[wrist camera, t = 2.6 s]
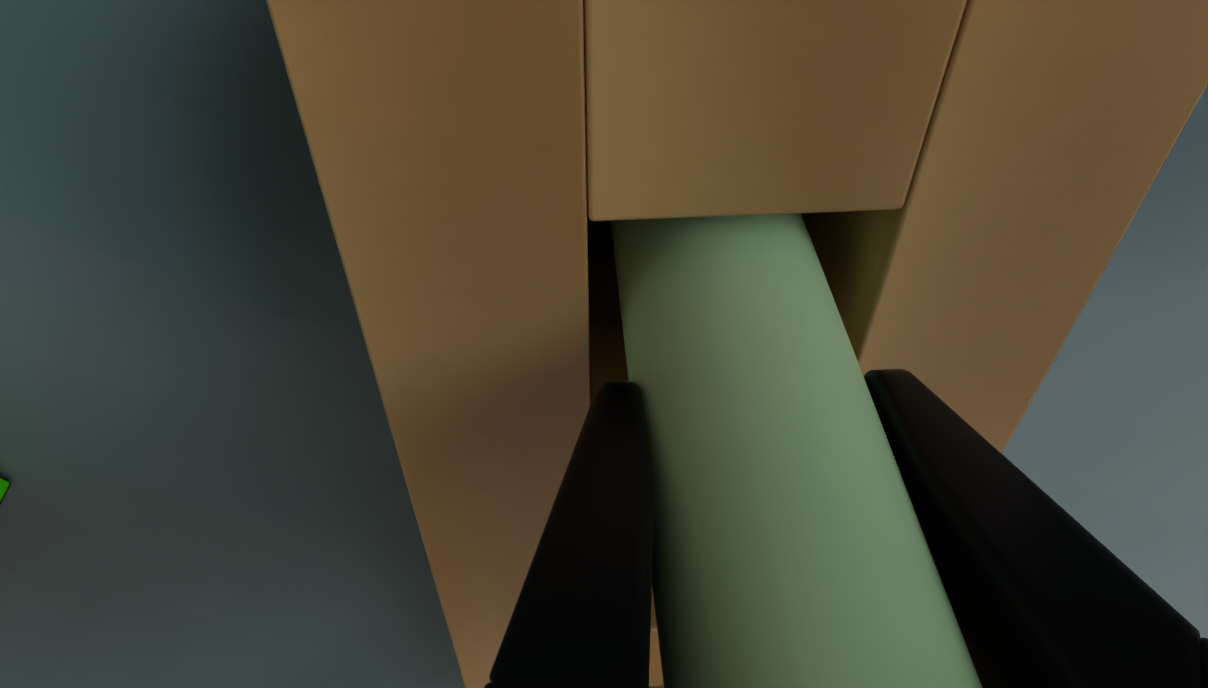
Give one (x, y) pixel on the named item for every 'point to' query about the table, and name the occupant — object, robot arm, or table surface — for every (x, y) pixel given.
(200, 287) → the table surface
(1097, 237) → the rack
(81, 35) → the table surface
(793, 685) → the green dowel
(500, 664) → the robot arm
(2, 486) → the rubik's cube
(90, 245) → the table surface
